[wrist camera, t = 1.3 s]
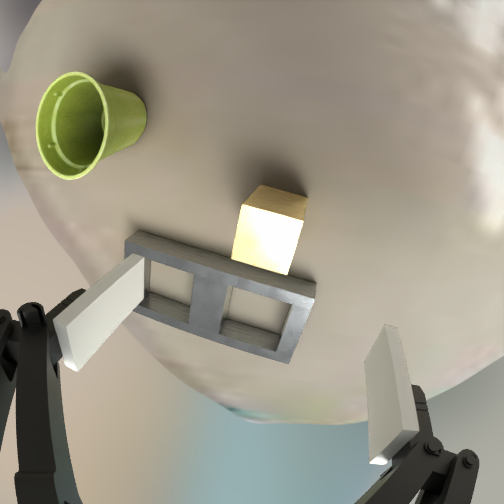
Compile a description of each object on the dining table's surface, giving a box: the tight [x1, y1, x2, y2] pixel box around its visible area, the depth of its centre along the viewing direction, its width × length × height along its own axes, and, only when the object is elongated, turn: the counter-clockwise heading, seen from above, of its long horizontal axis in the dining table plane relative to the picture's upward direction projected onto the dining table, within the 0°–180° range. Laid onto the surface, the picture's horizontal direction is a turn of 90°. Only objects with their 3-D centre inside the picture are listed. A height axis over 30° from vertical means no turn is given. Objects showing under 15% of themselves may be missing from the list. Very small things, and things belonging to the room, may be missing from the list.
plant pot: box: [36, 72, 147, 180], centre depth 25 cm, size 9×9×9 cm
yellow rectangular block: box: [231, 185, 308, 275], centre depth 26 cm, size 4×4×7 cm
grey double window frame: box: [124, 231, 316, 364], centre depth 33 cm, size 9×20×3 cm, turn 77°
